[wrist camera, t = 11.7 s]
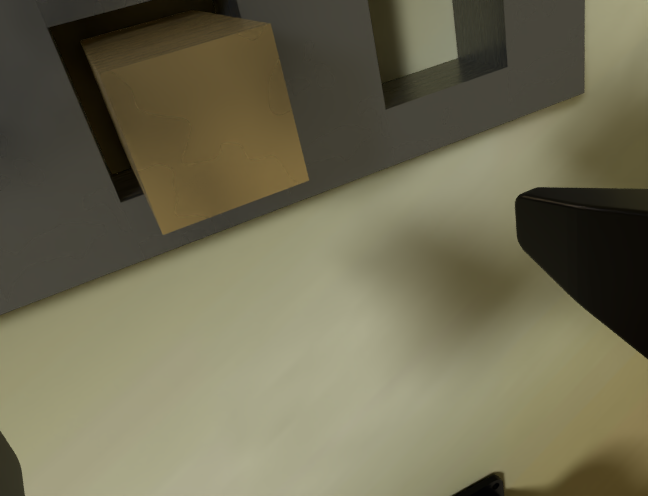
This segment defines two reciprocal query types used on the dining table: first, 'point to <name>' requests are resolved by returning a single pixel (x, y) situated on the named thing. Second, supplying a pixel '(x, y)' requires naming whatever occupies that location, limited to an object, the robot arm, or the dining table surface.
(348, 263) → the dining table surface
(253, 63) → the wooden peg
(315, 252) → the dining table surface
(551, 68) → the grey peg hole board
